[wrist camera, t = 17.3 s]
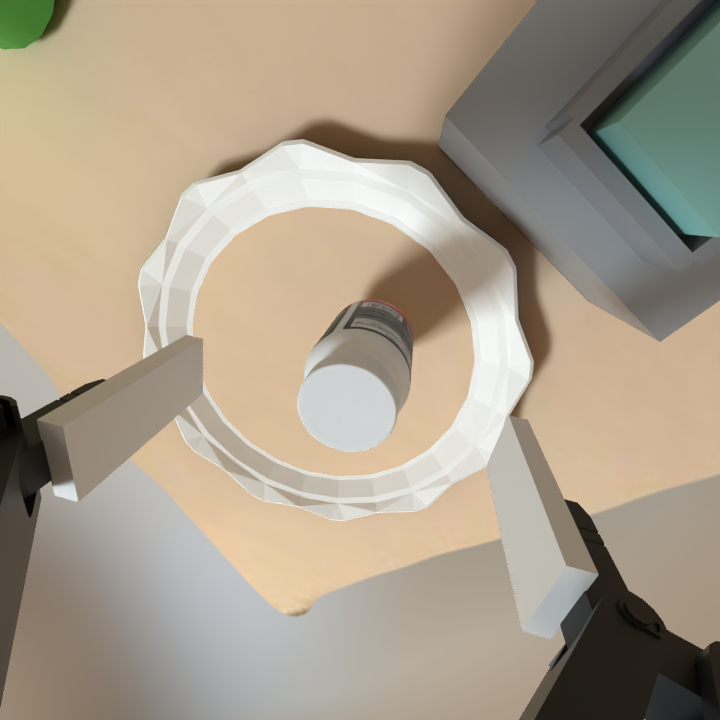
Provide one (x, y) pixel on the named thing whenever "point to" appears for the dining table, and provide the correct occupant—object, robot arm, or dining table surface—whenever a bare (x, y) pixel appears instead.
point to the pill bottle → (357, 377)
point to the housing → (583, 156)
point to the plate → (416, 219)
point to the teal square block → (673, 131)
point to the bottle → (23, 21)
